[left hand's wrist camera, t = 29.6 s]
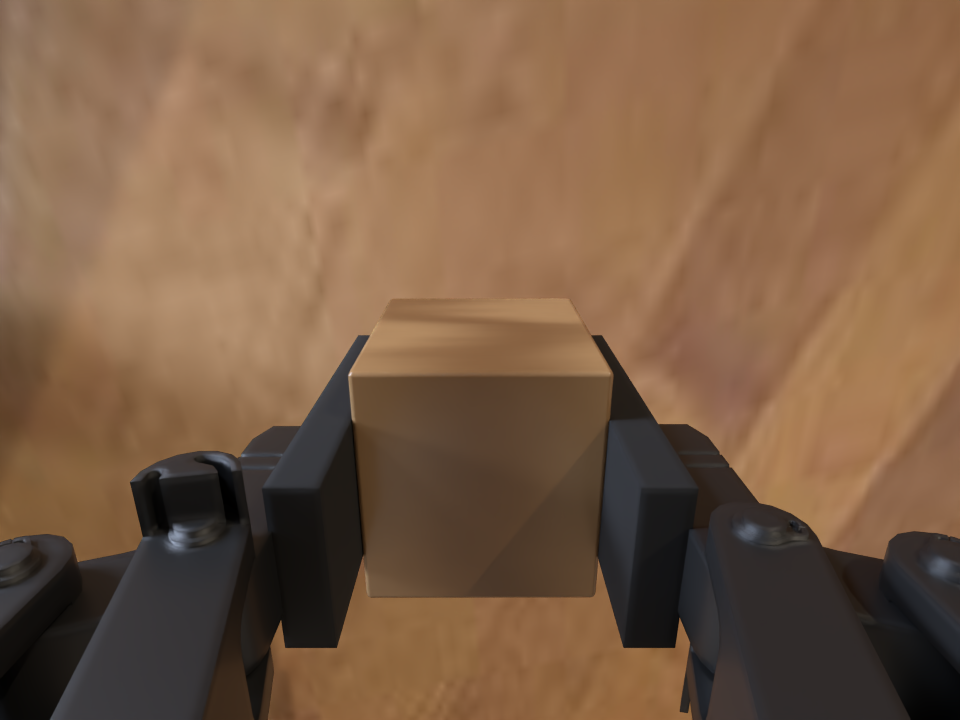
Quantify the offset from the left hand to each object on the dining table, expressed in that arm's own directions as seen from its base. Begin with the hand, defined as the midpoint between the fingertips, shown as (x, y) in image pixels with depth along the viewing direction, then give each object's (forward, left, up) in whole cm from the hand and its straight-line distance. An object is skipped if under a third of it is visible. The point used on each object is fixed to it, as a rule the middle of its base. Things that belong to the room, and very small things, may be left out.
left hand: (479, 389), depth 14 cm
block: (0, 0, 0) cm, 0 cm away
